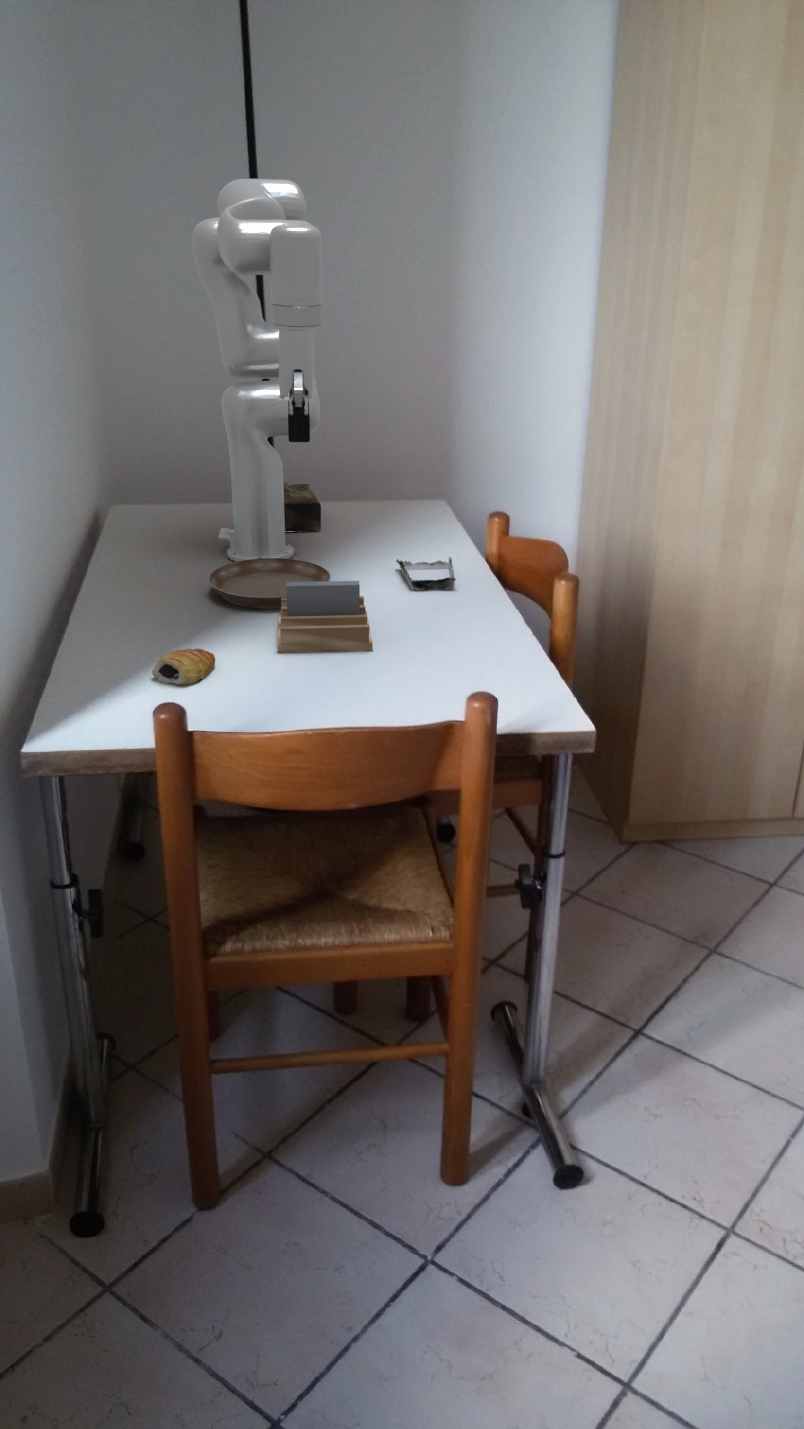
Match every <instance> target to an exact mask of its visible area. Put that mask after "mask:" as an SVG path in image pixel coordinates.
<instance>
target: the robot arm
mask: <svg viewBox="0 0 804 1429" xmlns="http://www.w3.org/2000/svg"><path fill="white" fill-rule="evenodd" d="M217 211H218V214H219V217H211V218H208V219H204V220H202V221H200V222H199V223H197V224H196V226H195V227H194V229H193V232H192V237H191V240H192V241H191V246H192V254H193V260H194V264H195V268H196V271H197V273H198V274H197V275H198V277H199V279H200V281H201V284H202V286H203V288H204V290H205V293H206V294H207V296H208V299H209V301H210V303H211V305H212V309H213V313H214V314H213V315H214V320H215V326H216V333H217V339H218V345H219V351H220V356H221V360H222V365H223V367H224V369H225V372H226V373H227V374H228V375H229V376H230V377H232V378H234V379H240V380H241V379H242V380H243V379H244V380H256V381H243V382H242V381H241V382H237V383H235V384H232V385H230V386H229V387H228V388H226V389H225V390H224V392H223V394H222V397H221V412H222V416H223V421H224V422H223V423H224V427H225V432H226V438H227V445H228V453H229V464H230V465H229V466H230V483H231V484H230V485H231V500H232V501H231V502H232V516H233V519H232V521H233V529H231V528H226V527H221V528H220V530H219V533H218V537H217V538H218V540H219V541H221V542H228V543H229V547H228V548H227V549H226V557H227V558H228V559H229V558H230V559H229V560H231V561H234V562H238V561H242V560H249V559H259V558H286V559H292V557H294V555H295V548H294V546H293V545H291V544H289V543H287V542H286V533H285V516H284V489H283V483H284V468H283V467H284V465H283V460H282V458H281V456H280V454H279V452H278V451H277V450H276V449H275V448H274V447H273V446H272V445H271V444H270V442H269V441H268V438H270V437H273V438H274V437H276V436H277V437H279V436H287V437H288V441H289V442H290V443H310V441H311V433H313V432H315V431H316V430H317V428H318V427H319V425H320V421H321V404H320V397H319V392H318V391H319V390H318V386H317V380H316V375H315V374H316V373H315V359H316V358H315V338H316V337H315V335H316V334H315V333H316V332H315V331H317V330H320V329H323V325H324V324H323V318H324V317H323V239H322V233H321V231H320V230H319V228H317V227H316V226H314V225H312V224H311V223H310V222H308V221H307V203H306V199H305V196H304V192H303V190H302V189H301V187H300V186H299V185H298V184H297V183H296V182H294V181H292V180H290V179H285V178H284V179H276V178H275V179H274V178H273V179H272V178H270V179H269V178H238V179H234V180H232V181H229V182H227V184H226V185H224V187H222V189H221V190H220V192H219V194H218V198H217ZM240 275H241V276H240ZM258 275H259V276H262V275H263V276H265V275H267V276H269V278H270V281H269V282H270V317H271V322H266V321H265V319H264V318H263V312H262V306H261V300H260V298H259V296H258V294H257V293H256V291H255V290H254V289H253V288H252V287H251V286H250V284H249V283H248V282H247V281H246V280H244V278H242V276H258ZM259 379H263V380H261V381H260V380H259ZM264 379H278V380H264ZM257 380H259V381H257Z"/></svg>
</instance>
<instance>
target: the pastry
mask: <svg viewBox="0 0 804 1429" xmlns="http://www.w3.org/2000/svg"><path fill="white" fill-rule="evenodd" d="M215 665H216V656H215V655H214V653H212V652H210V651H207V650H206V649H203V648H198V647H197V648H194V649H193V648H185V649H176V650H172V651H171V650H170V651H169V652H168V653H166V654H163V655H161V656H160V657H159V659H158V660H157V662H156V663H155V665H154V667H153V669H152V671H151V673H152V674H151V675H152V676H153V677H154V679H155V680H156V681H159V682H161V683H166V684H173V685H177V686H186V685H187V686H188V685H189V686H190V685H193V684H194V683H198V681H199V680H204V678H206V677H207V676H208V675H209V674H210V673H211V672H212V671H213V670H214V669H215Z"/></svg>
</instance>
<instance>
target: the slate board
mask: <svg viewBox="0 0 804 1429" xmlns="http://www.w3.org/2000/svg"><path fill="white" fill-rule="evenodd" d="M360 588H361V587H360V581H359V580H330V581H317V582H286V595H287V617H288V616H335V615H360V596H361V595H360V594H361V592H360V591H361V590H360Z"/></svg>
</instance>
